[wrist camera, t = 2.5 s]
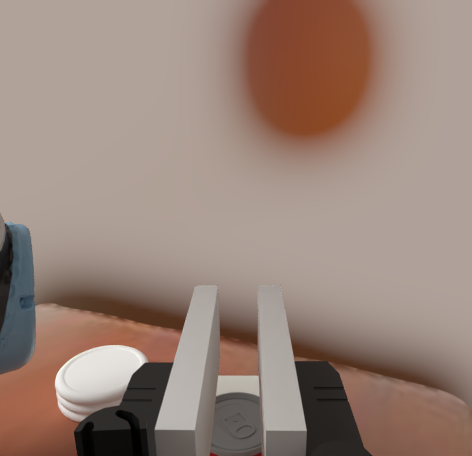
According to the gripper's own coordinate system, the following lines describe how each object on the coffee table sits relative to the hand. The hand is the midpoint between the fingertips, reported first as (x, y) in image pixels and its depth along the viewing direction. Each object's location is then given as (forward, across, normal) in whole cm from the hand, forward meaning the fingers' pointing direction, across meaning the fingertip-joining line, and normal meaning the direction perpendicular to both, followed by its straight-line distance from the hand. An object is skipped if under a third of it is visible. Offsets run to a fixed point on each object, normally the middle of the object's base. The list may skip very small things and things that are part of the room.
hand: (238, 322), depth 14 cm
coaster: (+28, -16, -24) cm, 40 cm away
